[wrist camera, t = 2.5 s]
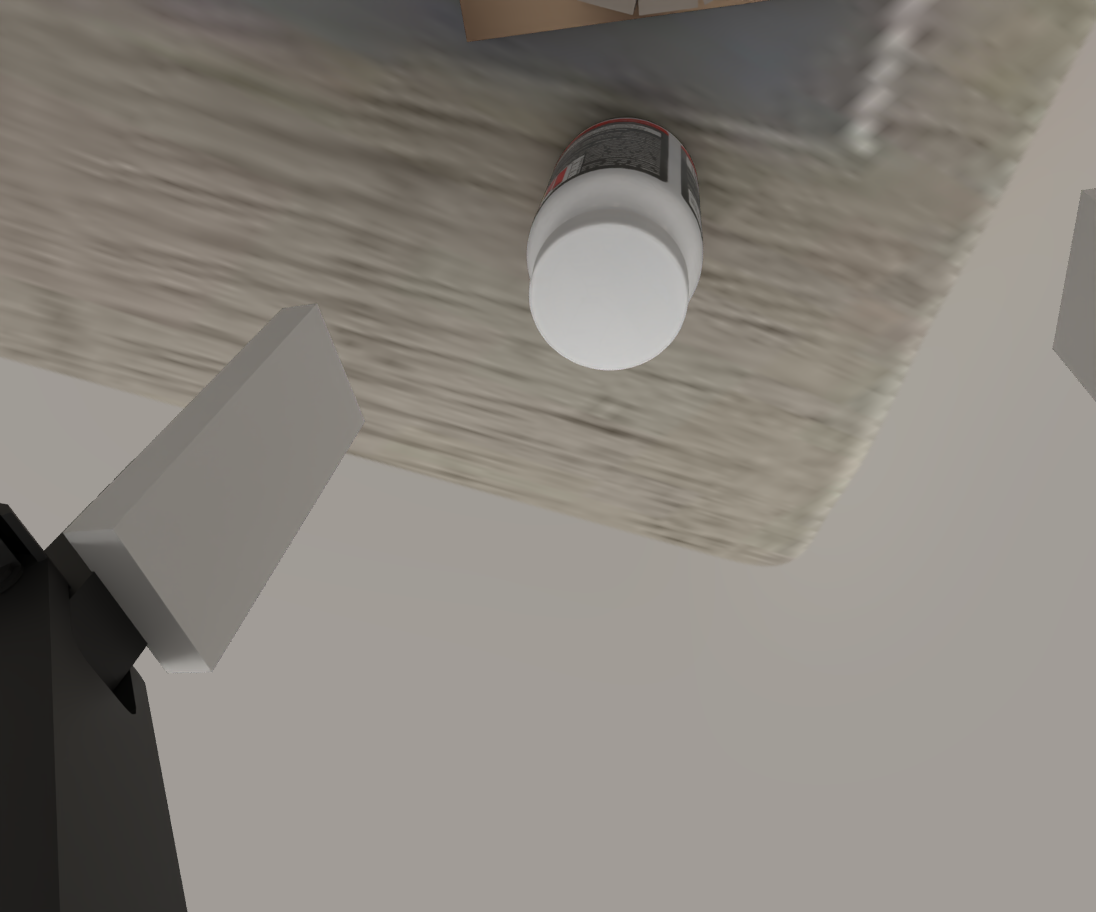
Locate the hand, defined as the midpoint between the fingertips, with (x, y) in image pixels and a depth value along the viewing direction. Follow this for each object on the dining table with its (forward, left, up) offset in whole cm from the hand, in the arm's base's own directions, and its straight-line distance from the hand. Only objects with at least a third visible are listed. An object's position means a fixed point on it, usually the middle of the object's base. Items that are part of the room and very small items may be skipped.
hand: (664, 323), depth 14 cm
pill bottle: (-2, -3, -18) cm, 18 cm away
